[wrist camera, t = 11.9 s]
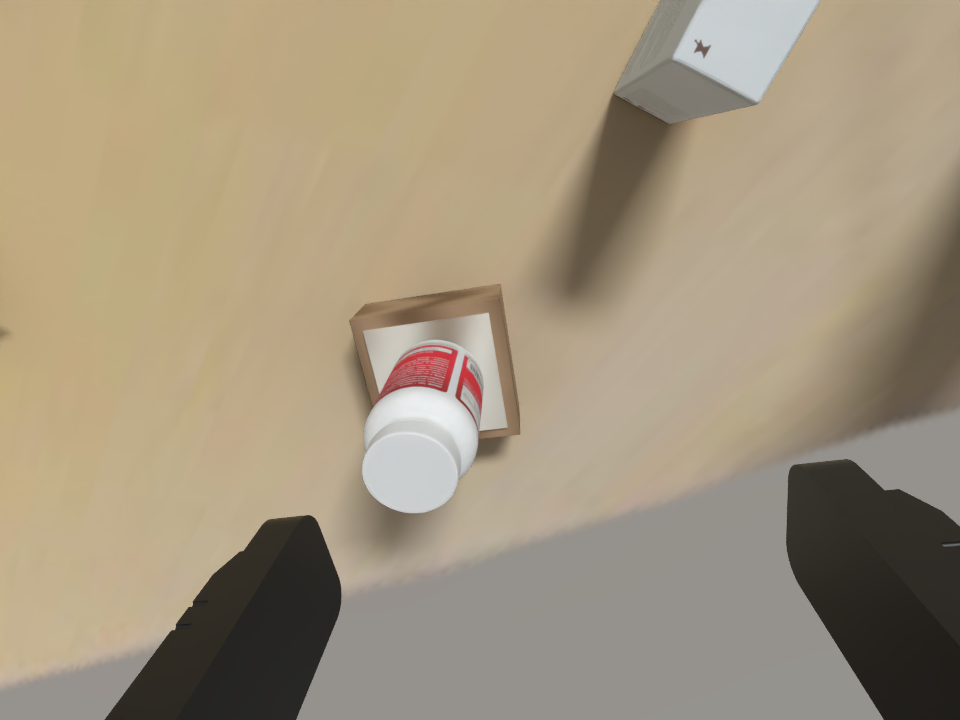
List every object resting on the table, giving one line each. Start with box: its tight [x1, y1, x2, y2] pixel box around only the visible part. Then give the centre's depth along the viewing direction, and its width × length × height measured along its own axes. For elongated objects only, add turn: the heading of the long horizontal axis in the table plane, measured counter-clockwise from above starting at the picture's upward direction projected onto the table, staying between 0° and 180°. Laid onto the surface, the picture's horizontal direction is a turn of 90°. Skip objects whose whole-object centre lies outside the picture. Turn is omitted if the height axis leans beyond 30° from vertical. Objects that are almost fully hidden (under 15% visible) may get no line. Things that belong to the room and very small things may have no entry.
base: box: [349, 284, 520, 439], centre depth 36 cm, size 10×10×4 cm
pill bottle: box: [362, 340, 484, 513], centre depth 29 cm, size 6×6×11 cm
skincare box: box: [614, 0, 821, 124], centre depth 25 cm, size 6×4×12 cm
